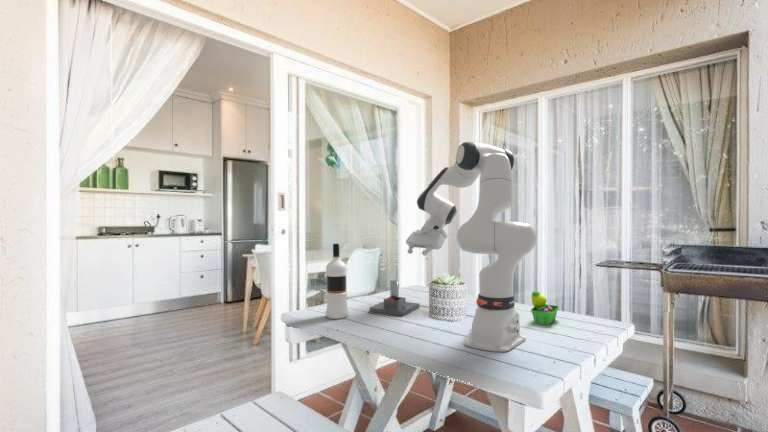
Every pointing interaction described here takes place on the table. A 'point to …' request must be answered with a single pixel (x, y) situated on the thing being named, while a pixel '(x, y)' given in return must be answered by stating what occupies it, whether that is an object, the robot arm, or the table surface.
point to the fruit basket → (542, 309)
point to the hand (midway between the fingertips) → (416, 253)
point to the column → (394, 289)
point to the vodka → (336, 287)
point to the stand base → (394, 307)
